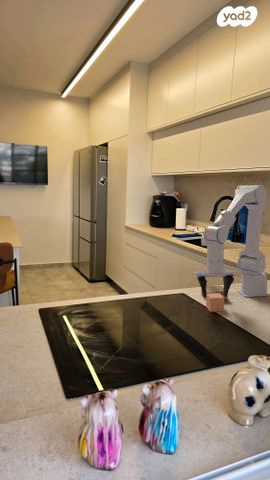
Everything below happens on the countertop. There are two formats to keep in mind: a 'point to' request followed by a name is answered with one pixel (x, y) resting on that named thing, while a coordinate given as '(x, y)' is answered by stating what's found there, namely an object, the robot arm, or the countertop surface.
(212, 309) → the terracotta cube
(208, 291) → the walnut block
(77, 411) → the countertop surface
